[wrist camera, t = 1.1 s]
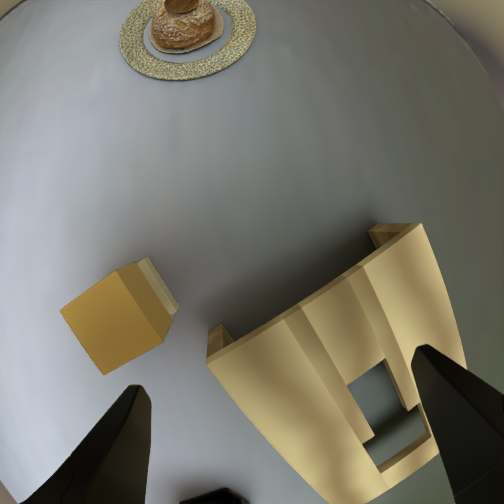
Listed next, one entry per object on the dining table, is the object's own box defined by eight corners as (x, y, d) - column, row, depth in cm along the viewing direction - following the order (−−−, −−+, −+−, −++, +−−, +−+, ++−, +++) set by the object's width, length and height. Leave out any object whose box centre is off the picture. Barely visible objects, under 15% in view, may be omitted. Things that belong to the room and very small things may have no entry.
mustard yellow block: (134, 333, 22) (103, 375, 15) (104, 286, 21) (59, 310, 14) (179, 306, 22) (162, 342, 15) (148, 256, 22) (115, 270, 14)
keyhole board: (325, 479, 25) (342, 515, 19) (208, 331, 23) (206, 364, 17) (443, 396, 26) (474, 420, 20) (378, 223, 23) (421, 223, 17)
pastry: (119, 9, 20) (107, -18, 15) (237, -17, 21) (241, -47, 16) (129, 102, 21) (112, 78, 16) (270, 69, 22) (281, 40, 17)
